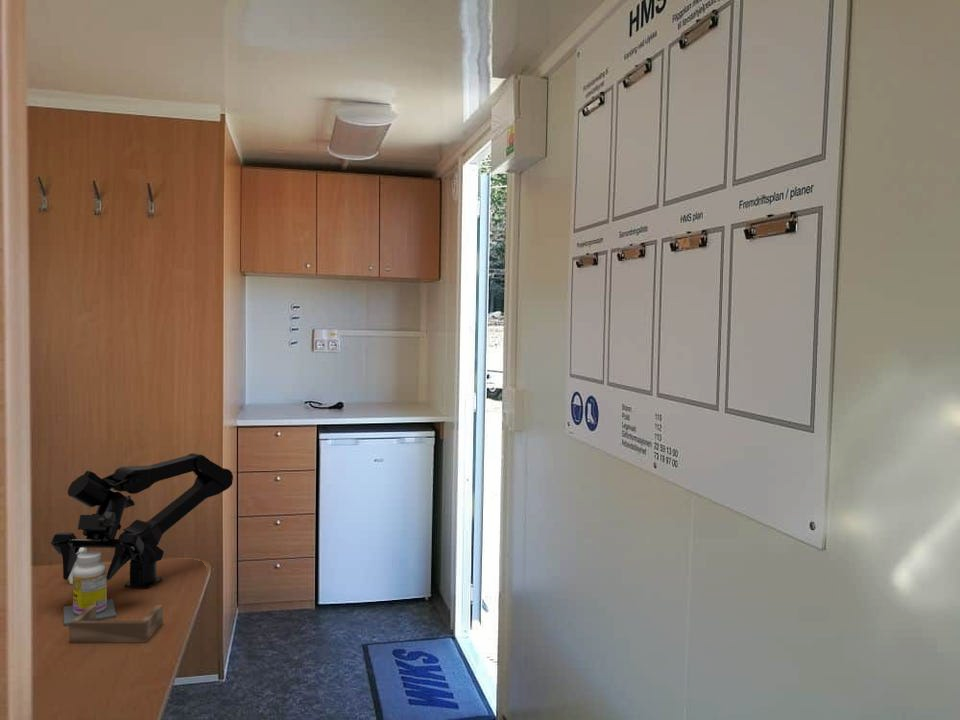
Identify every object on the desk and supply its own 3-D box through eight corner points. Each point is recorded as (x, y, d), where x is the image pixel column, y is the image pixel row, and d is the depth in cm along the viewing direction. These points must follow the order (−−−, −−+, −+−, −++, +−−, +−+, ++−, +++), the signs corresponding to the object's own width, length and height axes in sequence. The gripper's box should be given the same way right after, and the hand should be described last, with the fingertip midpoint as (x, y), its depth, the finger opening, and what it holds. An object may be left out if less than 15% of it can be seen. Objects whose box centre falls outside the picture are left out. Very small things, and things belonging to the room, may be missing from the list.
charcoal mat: (63, 609, 165) (63, 606, 165) (112, 601, 170) (112, 599, 170) (64, 625, 157) (63, 623, 157) (116, 617, 162) (116, 614, 162)
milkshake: (80, 586, 179) (80, 546, 178) (61, 584, 180) (61, 544, 179) (94, 579, 183) (93, 540, 182) (75, 577, 184) (75, 538, 184)
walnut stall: (90, 623, 158) (90, 605, 158) (162, 623, 159) (162, 605, 159) (69, 642, 149) (69, 623, 149) (145, 642, 150) (145, 623, 150)
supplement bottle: (75, 606, 165) (74, 550, 165) (107, 602, 168) (107, 547, 167) (71, 618, 159) (70, 560, 158) (105, 614, 162) (104, 557, 161)
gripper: (54, 498, 165) (27, 562, 155) (138, 498, 166) (118, 562, 156) (72, 522, 174) (48, 585, 163) (152, 522, 175) (133, 585, 164)
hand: (86, 579), depth 162 cm, fingers open, 9 cm apart
